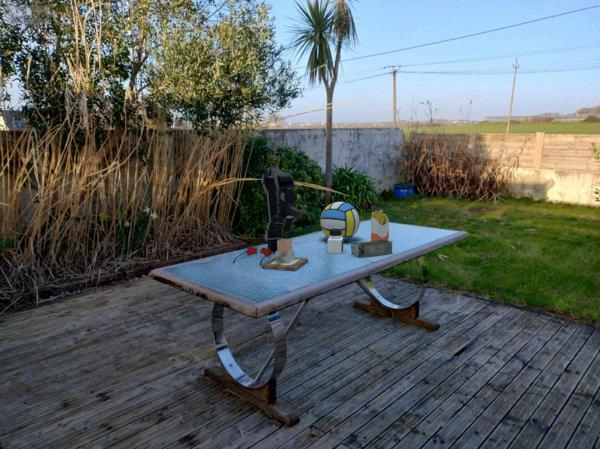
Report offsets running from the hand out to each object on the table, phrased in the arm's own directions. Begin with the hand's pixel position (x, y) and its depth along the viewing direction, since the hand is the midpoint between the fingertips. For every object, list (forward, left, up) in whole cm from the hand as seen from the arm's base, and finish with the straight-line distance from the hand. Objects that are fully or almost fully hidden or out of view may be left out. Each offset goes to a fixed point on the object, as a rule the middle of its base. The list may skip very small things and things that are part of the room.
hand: (284, 234), depth 195 cm
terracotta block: (+2, -6, -6) cm, 9 cm away
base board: (+2, -6, -13) cm, 14 cm away
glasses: (-16, -2, -13) cm, 21 cm away
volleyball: (+12, +51, -13) cm, 54 cm away
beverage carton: (+35, +24, -13) cm, 45 cm away
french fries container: (+35, +49, -13) cm, 62 cm away
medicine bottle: (+17, +24, -13) cm, 32 cm away
